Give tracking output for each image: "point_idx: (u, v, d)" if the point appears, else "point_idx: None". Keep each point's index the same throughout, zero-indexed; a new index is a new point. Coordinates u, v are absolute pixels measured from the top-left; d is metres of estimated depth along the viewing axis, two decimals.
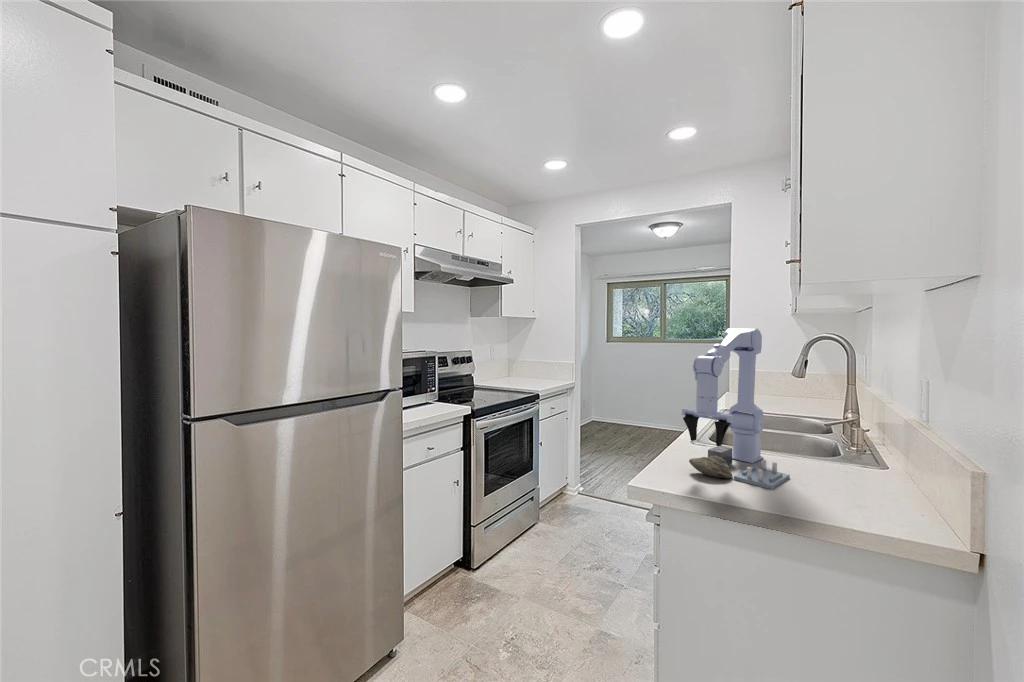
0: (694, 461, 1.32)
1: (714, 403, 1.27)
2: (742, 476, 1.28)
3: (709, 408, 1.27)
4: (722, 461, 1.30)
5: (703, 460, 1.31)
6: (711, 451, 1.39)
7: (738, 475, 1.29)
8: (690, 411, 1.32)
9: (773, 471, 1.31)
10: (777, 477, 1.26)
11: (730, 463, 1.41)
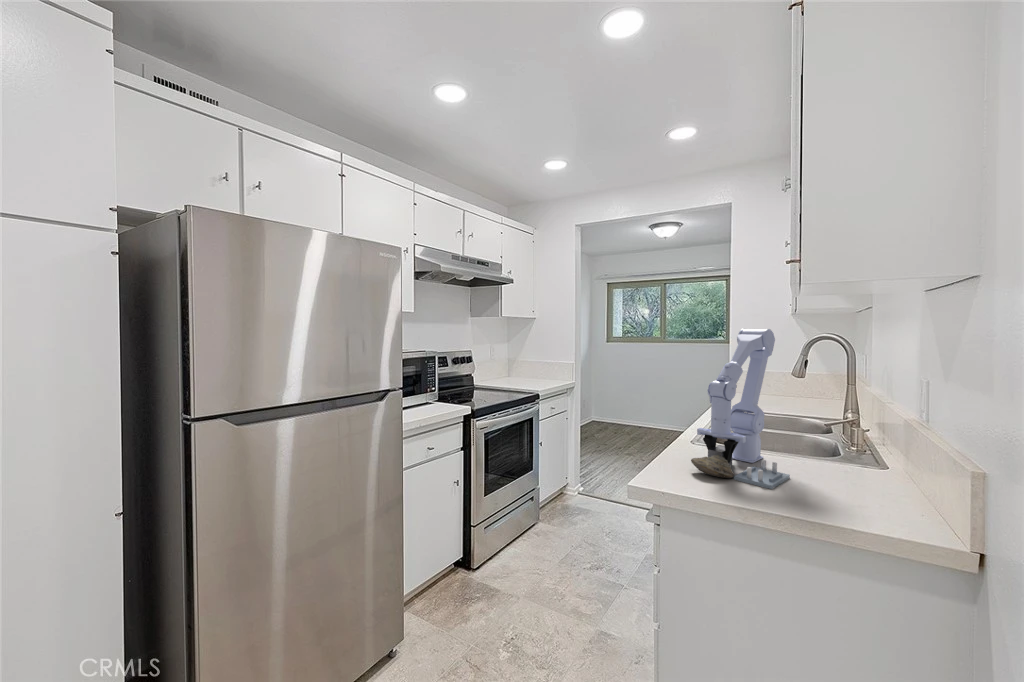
0: (696, 461, 1.32)
1: (728, 425, 1.38)
2: (742, 476, 1.28)
3: (723, 429, 1.38)
4: (724, 461, 1.30)
5: (705, 460, 1.32)
6: (711, 451, 1.39)
7: (738, 475, 1.29)
8: (705, 431, 1.43)
9: (773, 471, 1.31)
10: (777, 477, 1.26)
11: (730, 463, 1.41)
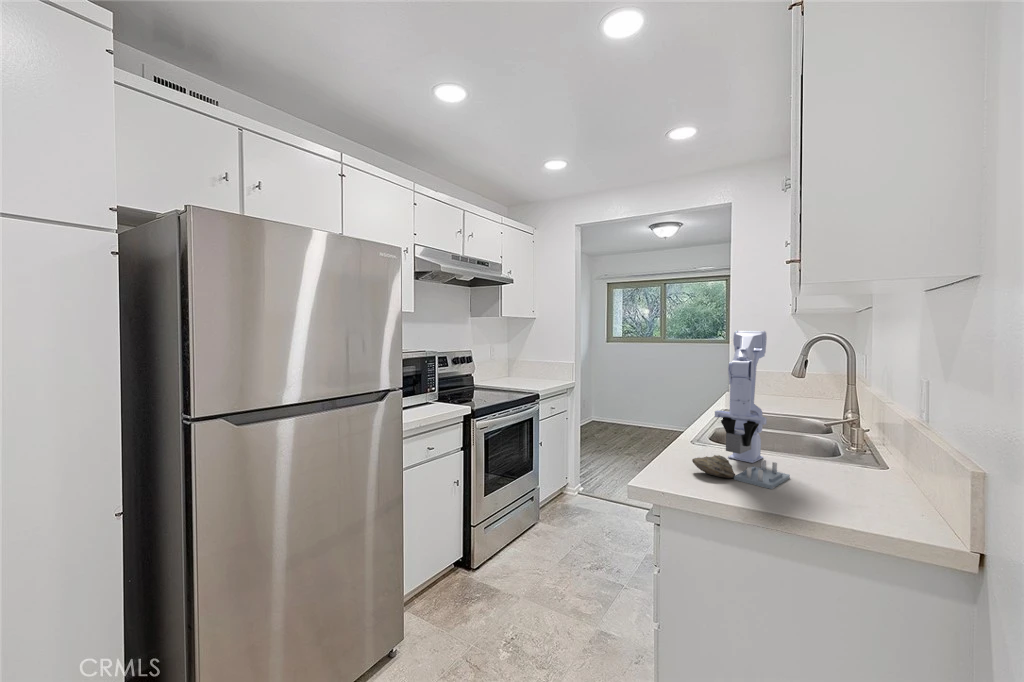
0: (697, 460, 1.33)
1: (747, 406, 1.32)
2: (742, 476, 1.28)
3: (743, 411, 1.32)
4: (725, 461, 1.30)
5: (706, 460, 1.32)
6: (729, 434, 1.33)
7: (738, 475, 1.29)
8: (723, 413, 1.37)
9: (773, 471, 1.31)
10: (777, 477, 1.26)
11: (749, 447, 1.35)
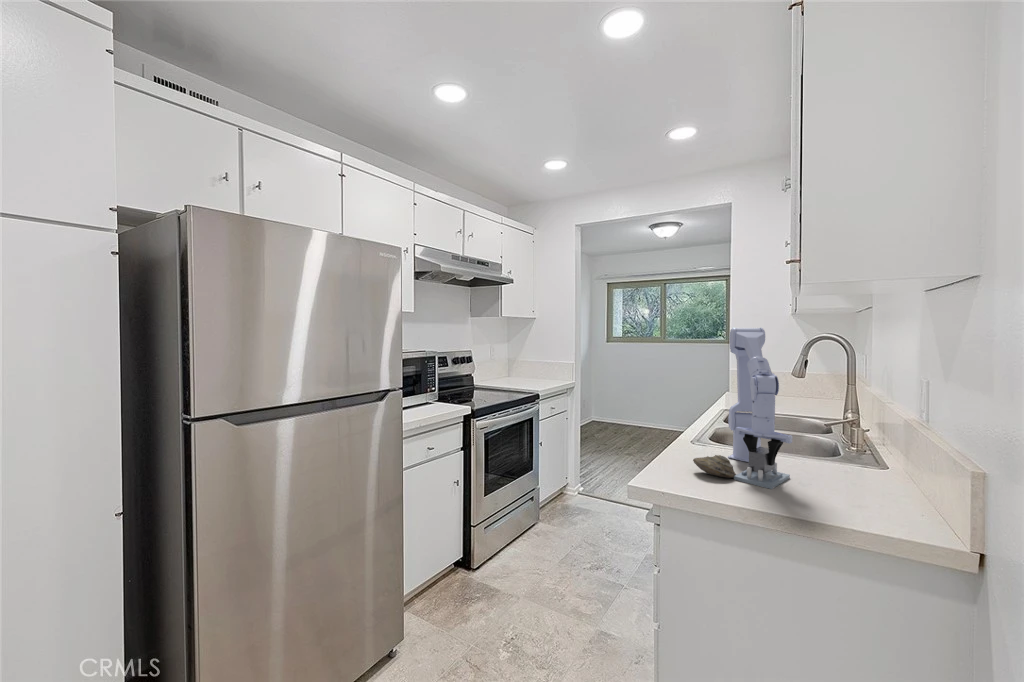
0: (697, 460, 1.33)
1: (772, 423, 1.26)
2: (742, 476, 1.28)
3: (767, 428, 1.26)
4: (726, 461, 1.30)
5: (706, 459, 1.32)
6: (753, 453, 1.27)
7: (738, 475, 1.29)
8: (745, 431, 1.30)
9: (773, 471, 1.31)
10: (777, 477, 1.26)
11: (773, 466, 1.29)
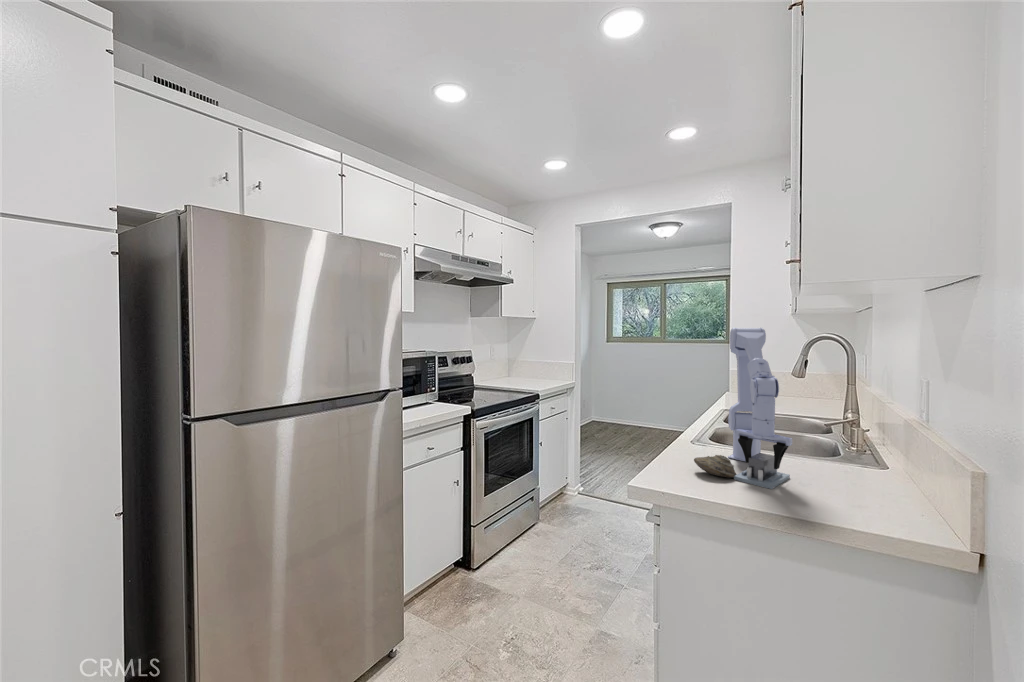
0: (698, 460, 1.33)
1: (772, 426, 1.26)
2: (742, 476, 1.28)
3: (767, 431, 1.26)
4: (726, 460, 1.30)
5: (707, 459, 1.32)
6: (752, 459, 1.27)
7: (738, 475, 1.29)
8: (745, 433, 1.30)
9: None
10: (777, 477, 1.26)
11: (773, 472, 1.29)
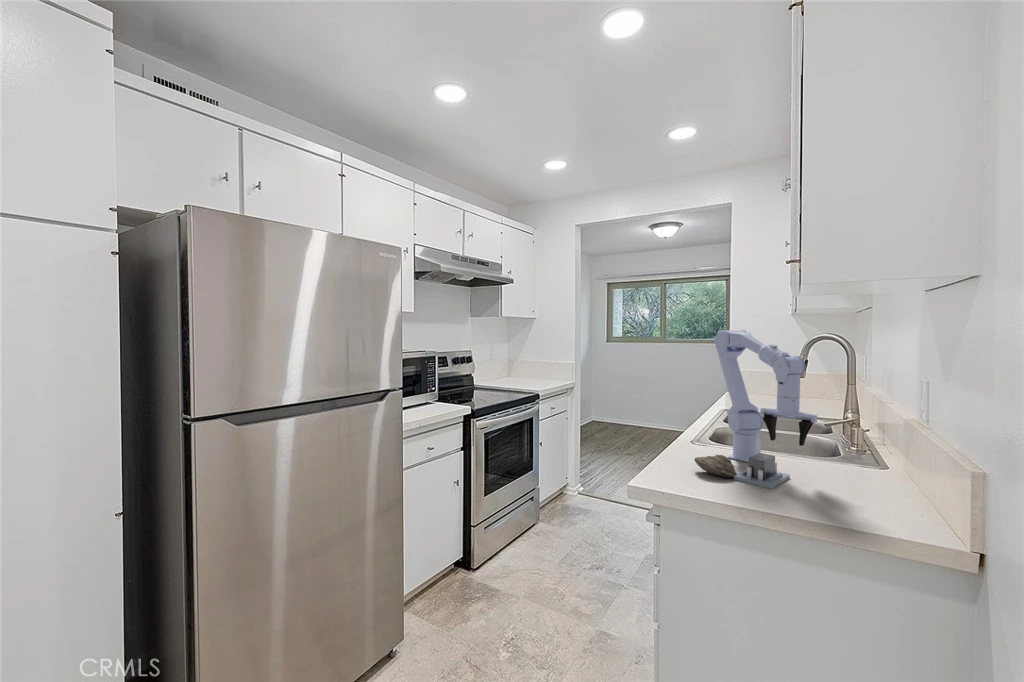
0: (698, 460, 1.33)
1: (797, 403, 1.29)
2: (742, 476, 1.28)
3: (792, 408, 1.29)
4: (727, 460, 1.31)
5: (707, 459, 1.32)
6: (752, 459, 1.27)
7: (738, 475, 1.29)
8: (770, 411, 1.33)
9: None
10: (777, 477, 1.26)
11: (773, 472, 1.29)
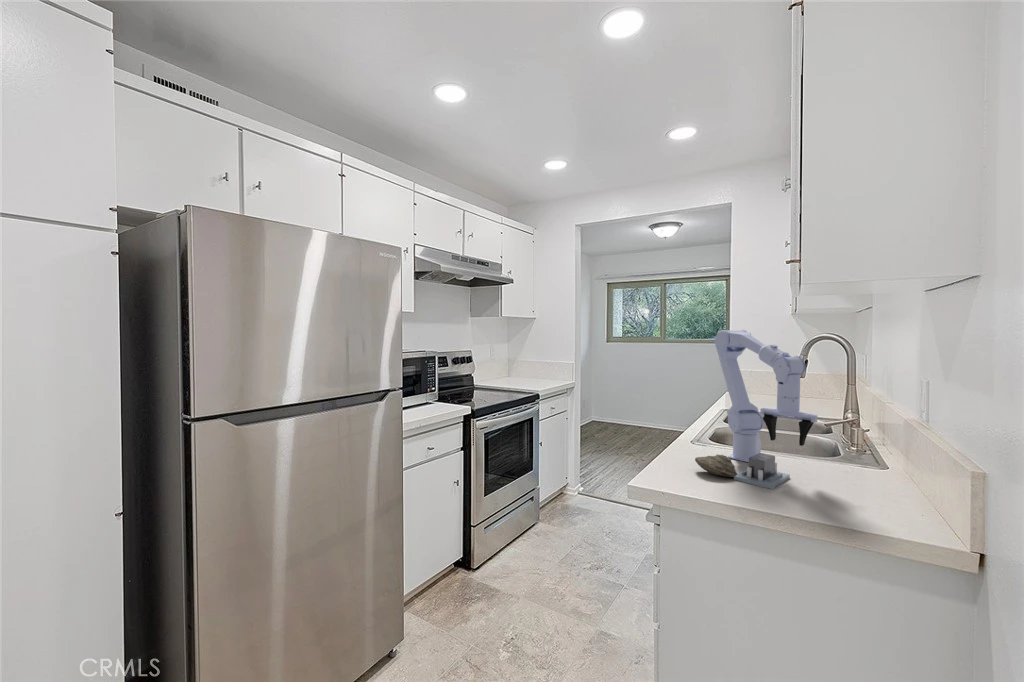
0: (699, 459, 1.34)
1: (797, 403, 1.29)
2: (742, 476, 1.28)
3: (792, 408, 1.29)
4: (727, 460, 1.31)
5: (708, 459, 1.33)
6: (752, 459, 1.27)
7: (738, 475, 1.29)
8: (770, 411, 1.33)
9: None
10: (777, 477, 1.26)
11: (773, 472, 1.29)
